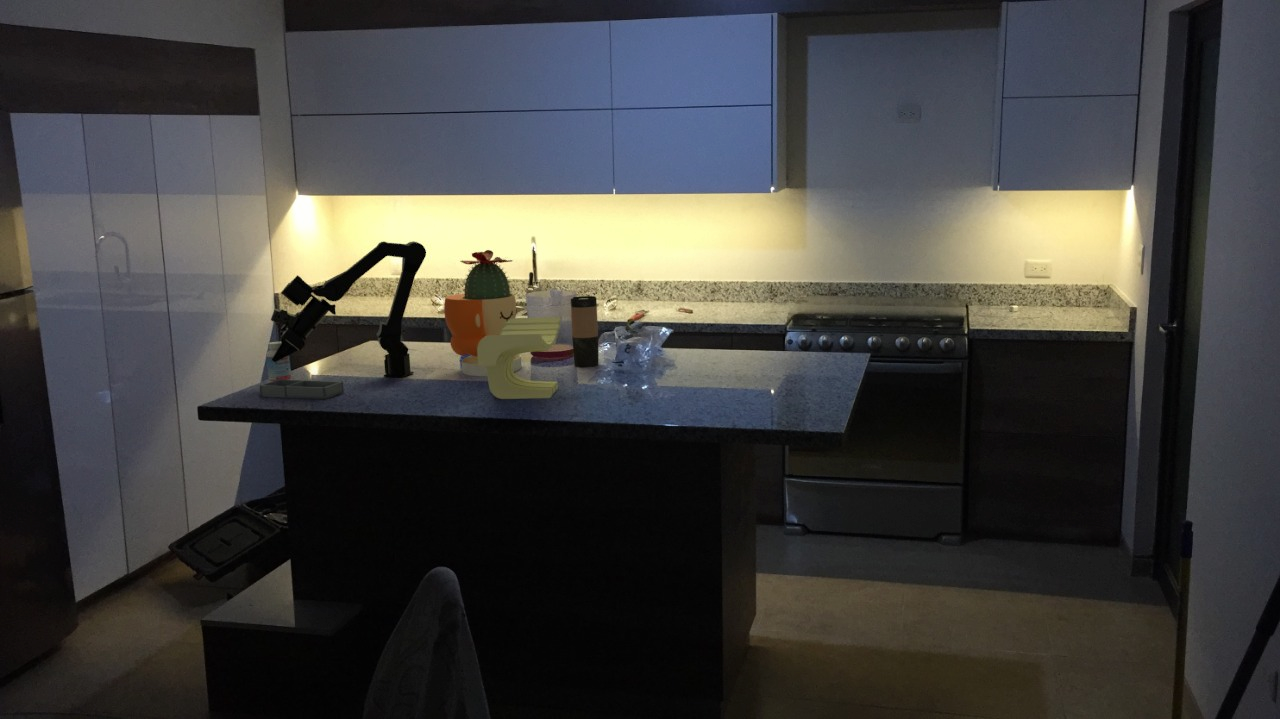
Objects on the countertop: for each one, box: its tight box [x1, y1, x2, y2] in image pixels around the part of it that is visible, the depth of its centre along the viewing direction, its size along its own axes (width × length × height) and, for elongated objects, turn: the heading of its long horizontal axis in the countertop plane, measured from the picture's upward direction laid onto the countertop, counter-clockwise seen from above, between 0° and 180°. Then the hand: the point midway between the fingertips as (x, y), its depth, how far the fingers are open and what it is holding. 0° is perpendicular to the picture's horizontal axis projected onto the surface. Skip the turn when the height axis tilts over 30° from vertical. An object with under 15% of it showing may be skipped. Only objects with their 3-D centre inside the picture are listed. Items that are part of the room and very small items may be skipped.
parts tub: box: [259, 379, 345, 400], centre depth 295 cm, size 20×8×3 cm, turn 71°
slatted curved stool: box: [477, 316, 562, 400], centre depth 285 cm, size 30×16×18 cm, turn 175°
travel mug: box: [570, 295, 599, 368], centre depth 323 cm, size 8×8×20 cm
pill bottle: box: [265, 340, 292, 383], centre depth 307 cm, size 6×6×11 cm
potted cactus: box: [443, 249, 523, 377], centre depth 321 cm, size 22×22×35 cm
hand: (273, 359), depth 307 cm, fingers closed on pill bottle, 6 cm apart
